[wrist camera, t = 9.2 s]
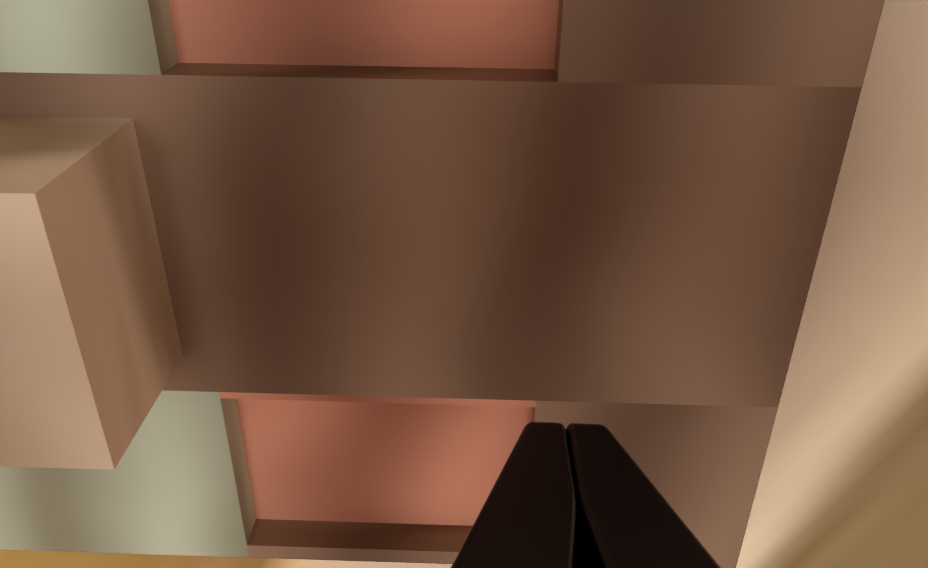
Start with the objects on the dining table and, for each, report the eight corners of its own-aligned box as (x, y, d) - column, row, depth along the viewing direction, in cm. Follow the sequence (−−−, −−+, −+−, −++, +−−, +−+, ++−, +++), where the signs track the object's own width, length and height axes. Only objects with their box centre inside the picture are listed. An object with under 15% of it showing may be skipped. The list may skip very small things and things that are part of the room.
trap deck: (915, -274, 14) (1001, -297, 11) (721, 532, 24) (746, 608, 21) (-354, -283, 14) (-519, -307, 12) (-26, 509, 24) (-82, 580, 22)
